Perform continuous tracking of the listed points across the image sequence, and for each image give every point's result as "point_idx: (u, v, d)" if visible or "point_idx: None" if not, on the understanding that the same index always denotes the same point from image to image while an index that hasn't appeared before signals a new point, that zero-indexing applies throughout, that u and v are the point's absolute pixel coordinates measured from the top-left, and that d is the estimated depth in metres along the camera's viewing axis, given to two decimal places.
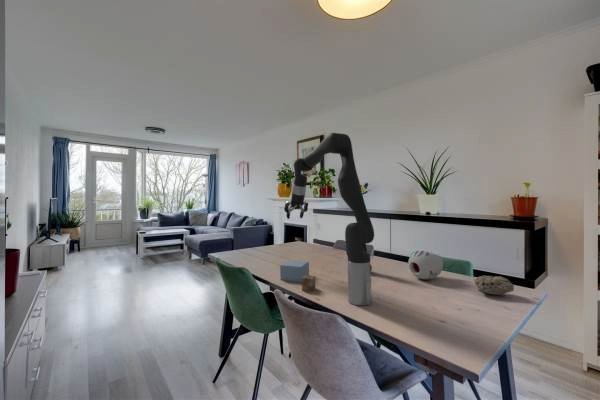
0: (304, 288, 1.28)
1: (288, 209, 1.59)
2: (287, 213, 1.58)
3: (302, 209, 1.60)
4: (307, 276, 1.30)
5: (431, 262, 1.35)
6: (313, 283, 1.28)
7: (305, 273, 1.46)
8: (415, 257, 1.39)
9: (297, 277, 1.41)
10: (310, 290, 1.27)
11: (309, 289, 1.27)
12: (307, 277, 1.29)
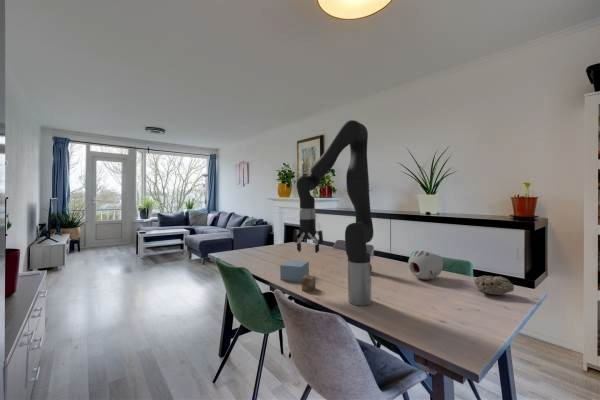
0: (304, 287, 1.28)
1: None
2: (297, 244, 1.31)
3: (313, 239, 1.26)
4: (307, 276, 1.30)
5: (431, 262, 1.35)
6: (313, 283, 1.28)
7: (305, 273, 1.46)
8: (415, 257, 1.39)
9: (297, 277, 1.41)
10: (310, 290, 1.27)
11: (309, 289, 1.27)
12: (307, 277, 1.29)
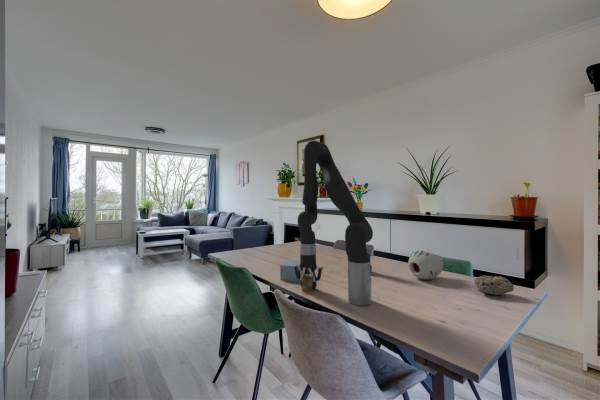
0: (304, 287, 1.28)
1: None
2: None
3: (312, 276, 1.27)
4: (307, 276, 1.30)
5: (431, 262, 1.35)
6: None
7: None
8: (415, 257, 1.39)
9: None
10: (310, 290, 1.27)
11: (309, 289, 1.27)
12: (307, 277, 1.29)
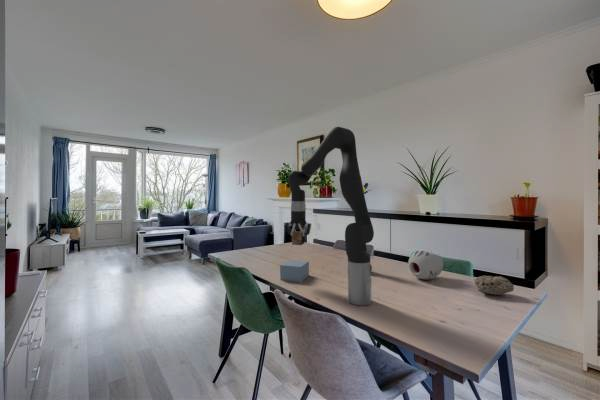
0: (294, 241, 1.39)
1: None
2: (291, 235, 1.42)
3: (301, 231, 1.38)
4: (297, 232, 1.41)
5: (431, 262, 1.35)
6: None
7: (305, 273, 1.46)
8: (415, 257, 1.39)
9: (297, 277, 1.41)
10: (299, 243, 1.38)
11: (298, 243, 1.38)
12: (297, 232, 1.40)
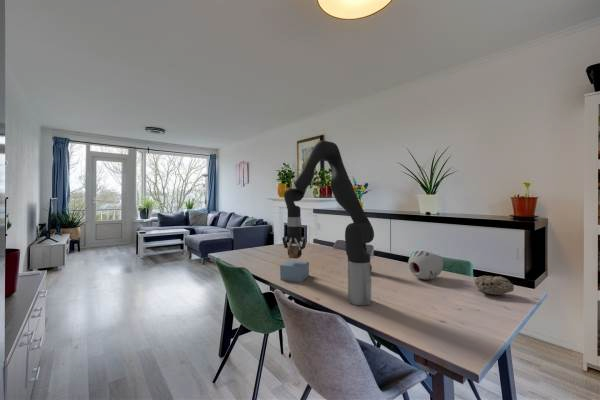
0: (290, 255, 1.46)
1: None
2: None
3: (297, 245, 1.45)
4: (293, 246, 1.49)
5: (431, 262, 1.35)
6: None
7: (305, 273, 1.46)
8: (415, 257, 1.39)
9: (297, 277, 1.41)
10: (296, 257, 1.45)
11: (295, 256, 1.45)
12: (293, 246, 1.47)
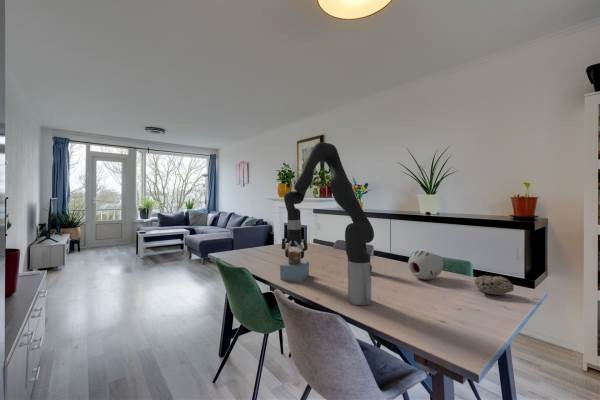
0: (290, 261, 1.46)
1: (287, 247, 1.50)
2: None
3: (299, 247, 1.45)
4: (293, 251, 1.49)
5: (431, 262, 1.35)
6: (298, 257, 1.47)
7: (305, 273, 1.46)
8: (415, 257, 1.39)
9: (297, 277, 1.41)
10: (295, 263, 1.45)
11: (295, 262, 1.45)
12: (293, 252, 1.47)
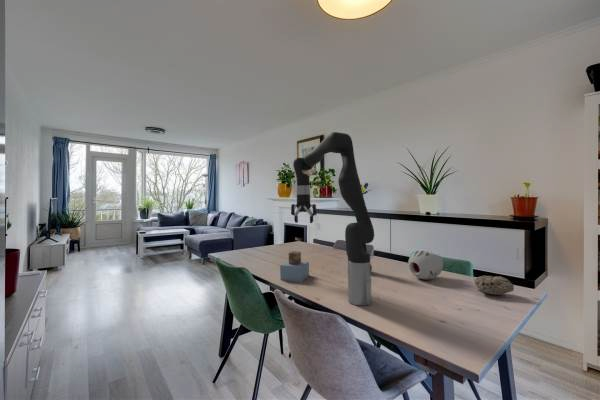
0: (290, 261, 1.46)
1: None
2: None
3: (308, 211, 1.49)
4: (294, 252, 1.49)
5: (431, 262, 1.35)
6: (298, 257, 1.47)
7: (305, 273, 1.46)
8: (415, 257, 1.39)
9: (297, 277, 1.41)
10: (296, 263, 1.45)
11: (295, 262, 1.45)
12: (293, 252, 1.47)
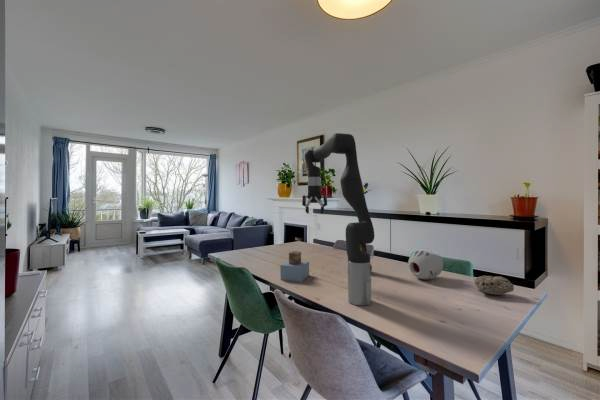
0: (291, 261, 1.46)
1: None
2: None
3: (319, 202, 1.53)
4: (294, 251, 1.49)
5: (431, 262, 1.35)
6: (298, 257, 1.47)
7: (305, 273, 1.47)
8: (415, 257, 1.39)
9: (297, 277, 1.42)
10: (296, 263, 1.45)
11: (295, 262, 1.45)
12: (293, 252, 1.47)
